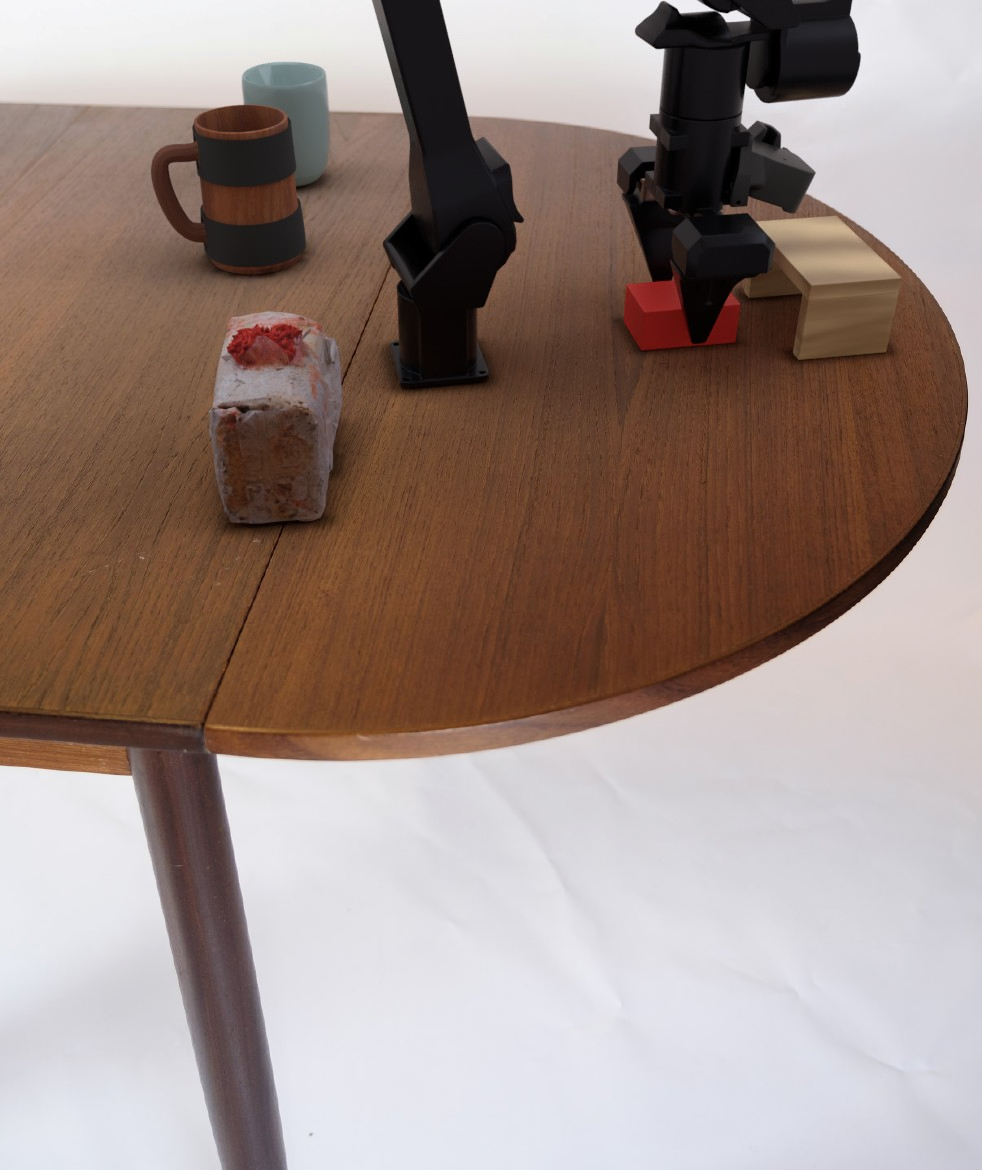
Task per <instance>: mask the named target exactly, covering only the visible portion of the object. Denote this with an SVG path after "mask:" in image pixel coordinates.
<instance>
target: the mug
mask: <svg viewBox="0 0 982 1170" xmlns="http://www.w3.org/2000/svg"><path fill="white" fill-rule="evenodd" d="M191 129H192V139H193V142H190V143H171V144H167V145H165V146H162V147H160V148H159V149H158V150H157V151H156V152H155V153H154V156H153V158H152V160H151V166H150V177H151V183H152V186H153V191H154V194H155V196H156V199H157V201H158V204H159V206H160V209H161V210H162V213H163V214H164V216H165V218H166V220H167V221H168V223H169V224H170V226H171V227H172V228H173V230H175V231H176V232H177V233H178V234H179V235H180V236H181V237H183V238H184V239H185V240H188V241H190V242H193V243H201V244H203V248H204V249H203V250H204V252H205V255H206V256H207V257H208V258H209V260H210V261H211V262H212V264H213V266H215V267H216V268H218V269H220V270H221V271H225V272H228V273H233V274H238V275H263V274H270V273H275V272H278V271H282V270H285V269H287V268H289V267H291V266H293V265H294V264H296V263H298V261H299V260H300V259H301V256H302V255H303V252H304V251H305V249H306V246H307V240H306V229H305V228H306V227H305V221H304V215H303V208H302V203H301V200H300V199H299V197H298V194H297V187H296V184H295V175H294V172H295V171H296V159H295V152H294V144H293V136H292V126H291V120H290V119H289V117H287V115H286V113H285V112H283V111H282V110H280V109H277V108H273V107H269V106H262V105H244V104H235V105H234V104H233V105H225V106H220V107H215V108H212V109H209V110H206V111H203V112H201V113H199V114H198V115H197V116H196V117H194V119H193V123H192V127H191ZM192 162H195V165H196V174H197V176H198V177H199V183H200V192H201V203H202V204H201V206H200V210H199V211H200V222H195V221H192V220H191V218H189V216H188V215H187V213H186V212H185V211H184V208H183V207H182V205H181V203H180V201H179V199H178V197H177V194H176V192H175V190H174V187H173V183H172V179H171V175H170V170H169V169H170V167H169V166H170V164H172V163H173V164H174V163H192Z"/></svg>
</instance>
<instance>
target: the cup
mask: <svg viewBox="0 0 982 1170" xmlns="http://www.w3.org/2000/svg"><path fill="white" fill-rule="evenodd" d="M241 92H242V103H243V105H262V106H269V107H273V108H277V109H280V110H282V111H283V112H285V113H286V115H287V117H289V119H290V120H291V126H292V136H293V144H294V152H295V159H296V171H295V172H294V175H295V184H296V188H297V187H304V186H308V185H311V184H312V183H315V182H316V181H317V180H318V179H320V178H321V177H322V176H323V174H324V173H325V171H326V169H327V166H328V164H329V163H328V162H329V159H330V152H331V151H330V150H331V116H330V99H329V98H330V97H329V87H328V79H327V73H326V71H325V69H324V68H323V67H322V66H320V65H316V64H313V63H307V62H301V61H299V62H298V61H274V62H265V63H261V64H257V65H254V66H251V67H249V68H247V69H245V71H243V73H242V75H241Z"/></svg>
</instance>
